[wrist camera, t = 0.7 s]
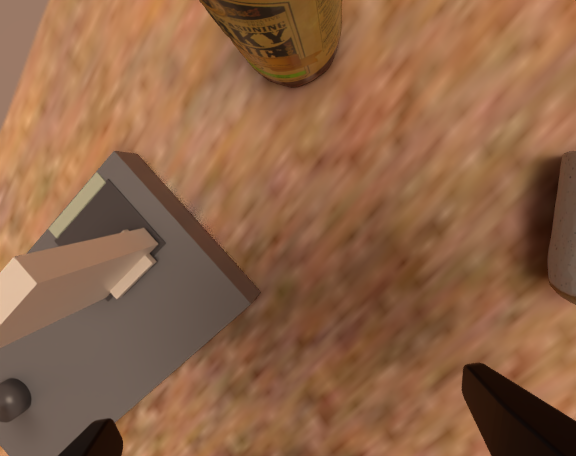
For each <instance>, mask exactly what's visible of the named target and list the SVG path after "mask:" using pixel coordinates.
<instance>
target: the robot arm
mask: <svg viewBox="0 0 576 456" xmlns="http://www.w3.org/2000/svg"><path fill="white" fill-rule="evenodd" d="M462 393H463V396H464V399H465V401H466V403H467V405H468V407H469V409H470V412H471V414H472V416H473V418H474V420H475V422H476V424H477V426H478V428H479V431H480V433H481V435H482V437H483V439H484V441H485V443H486V445H487V447H488V449H489V452H490V454H491V456H576V421H575V420H573V419H572V418H570V417H568V416H567V415H565V414H564V413H562V412H560V411H559V410H557V409H556V408H554V407H552V406H551V405H549V404H547V403H546V402H544V401H543V400H541V399H539V398H538V397H536V396H535V395H533V394H531V393H530V392H528V391H527V390H525V389H523V388H522V387H520V386H519V385H517V384H515V383H514V382H512V381H510V380H509V379H507V378H506V377H504V376H502V375H501V374H499V373H498V372H496V371H494V370H493V369H491V368H490V367H488V366H486V365H485V364H483V363H472V364H466V365H465V366H464V368H463V377H462ZM122 450H123V440H122V437H121V435H120V433H119V431H118V429H117V427H116V424H115V422H114V421H113V420H112V419H111V418H106V419H99V420H95V421H93V422H92V423H91V424H90V425H89V426H88V427H87V428H86V429H85V430H84V431H82V432H81V433H80V434H79V435H78V436H77V437H76V438H75V439H74V440H73V441H72V442H71V443H70V444H69V445H68V446H67V447H66V448H65V449H64V450H63V451H62V452H61V453H60V454H59V455H58V456H121V455H122Z"/></svg>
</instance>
